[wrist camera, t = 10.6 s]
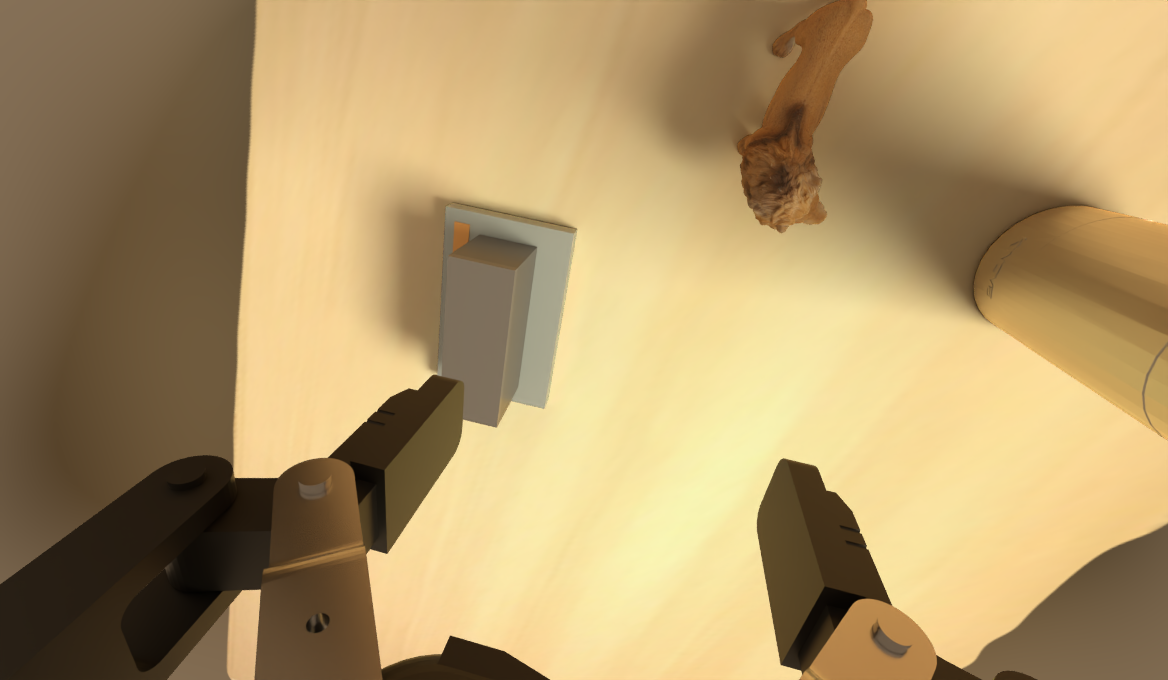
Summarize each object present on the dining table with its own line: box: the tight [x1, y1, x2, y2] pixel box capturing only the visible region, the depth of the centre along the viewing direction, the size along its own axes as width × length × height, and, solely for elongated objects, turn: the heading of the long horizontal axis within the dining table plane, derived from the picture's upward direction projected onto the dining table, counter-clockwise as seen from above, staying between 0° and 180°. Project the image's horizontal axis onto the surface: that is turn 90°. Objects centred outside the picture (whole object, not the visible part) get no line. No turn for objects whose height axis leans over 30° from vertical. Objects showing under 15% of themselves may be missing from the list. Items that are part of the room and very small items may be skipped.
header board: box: [438, 203, 577, 409], centre depth 39 cm, size 10×16×6 cm, turn 169°
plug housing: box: [442, 234, 537, 428], centre depth 38 cm, size 5×13×6 cm, turn 170°
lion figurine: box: [737, 0, 873, 233], centre depth 28 cm, size 15×5×9 cm, turn 172°
